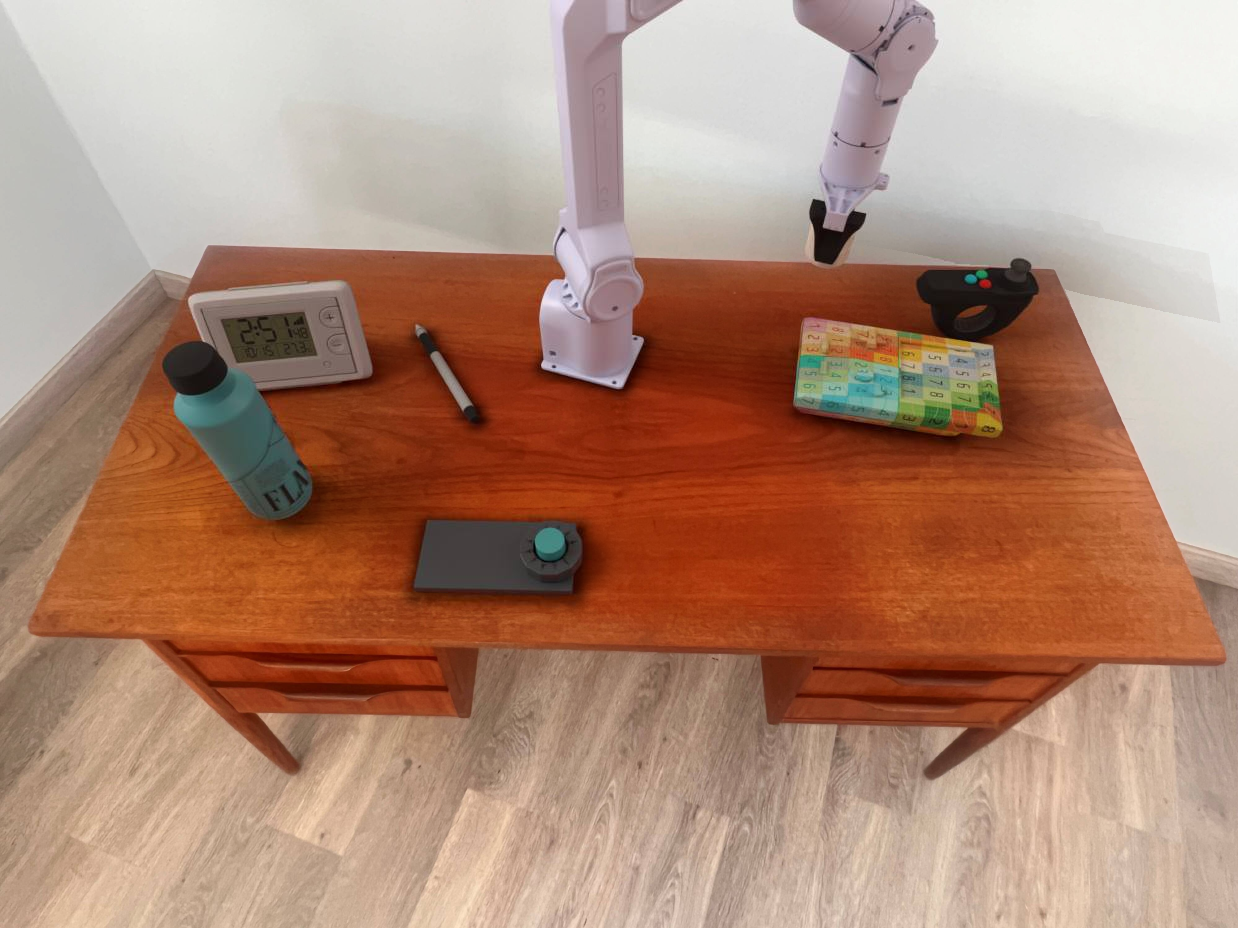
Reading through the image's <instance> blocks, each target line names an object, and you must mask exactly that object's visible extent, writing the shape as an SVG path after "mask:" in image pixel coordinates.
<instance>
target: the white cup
mask: <svg viewBox="0 0 1238 928" xmlns="http://www.w3.org/2000/svg"><path fill="white" fill-rule="evenodd" d="M856 233H857V231H856V232H855V233H854V234H853V235H852V236H851V237H850V238H849V239H848V241H847V242H846V244H845V245H844V247H843V249H842V251H841V252H840V254H839V256H838V258H837V259H836V261H835V262H834V263H833V265H830V264H825V263H821V262H816V261H814V229H813V225H812V222H810V228H809V232H808V236H807V238H806V239H807V240H806V243H805V247H804V253H805V256H806V258H807V260H808V261H809V262H810V263H811V264H812V265H814V266H816V267H817V268H820V269H821V268H822V269H836V268H837V267H840V266H841V265H844V263H845V262H846V261H847V260H848V258H849V255H850V252H851V249H852V246H853V243H854V239H855V236H856Z"/></svg>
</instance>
